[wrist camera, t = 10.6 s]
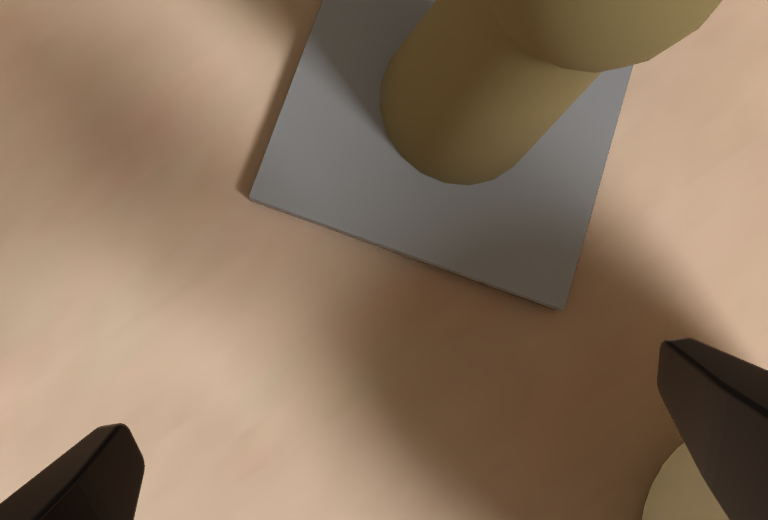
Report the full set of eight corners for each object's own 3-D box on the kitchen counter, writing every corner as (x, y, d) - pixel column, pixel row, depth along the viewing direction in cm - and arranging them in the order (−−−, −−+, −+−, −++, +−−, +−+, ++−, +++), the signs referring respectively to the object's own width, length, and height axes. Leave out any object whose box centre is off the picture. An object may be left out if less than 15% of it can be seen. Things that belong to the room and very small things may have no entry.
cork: (348, 127, 19) (425, -110, 8) (430, -6, 20) (598, -379, 9) (490, 216, 19) (739, 108, 9) (563, 83, 20) (869, -165, 10)
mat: (556, 309, 20) (564, 310, 20) (249, 200, 19) (248, 196, 18) (635, 30, 22) (645, 22, 21) (359, -93, 20) (361, -105, 20)
